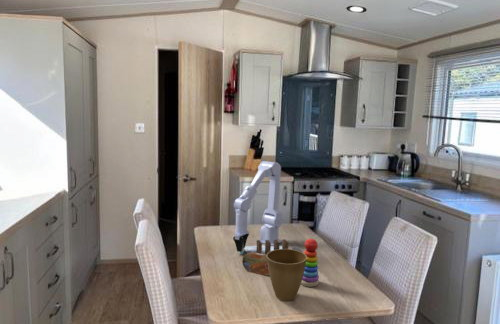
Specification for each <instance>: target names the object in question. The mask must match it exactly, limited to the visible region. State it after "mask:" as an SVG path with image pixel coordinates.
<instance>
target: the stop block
mask: <svg viewBox="0 0 500 324" xmlns="http://www.w3.org/2000/svg"><path fill="white" fill-rule="evenodd" d="M291 249H292V250H297V251H300V252H302V253H303V250H302V249H301V248H300V246H296V245H295V246H291Z"/></svg>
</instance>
